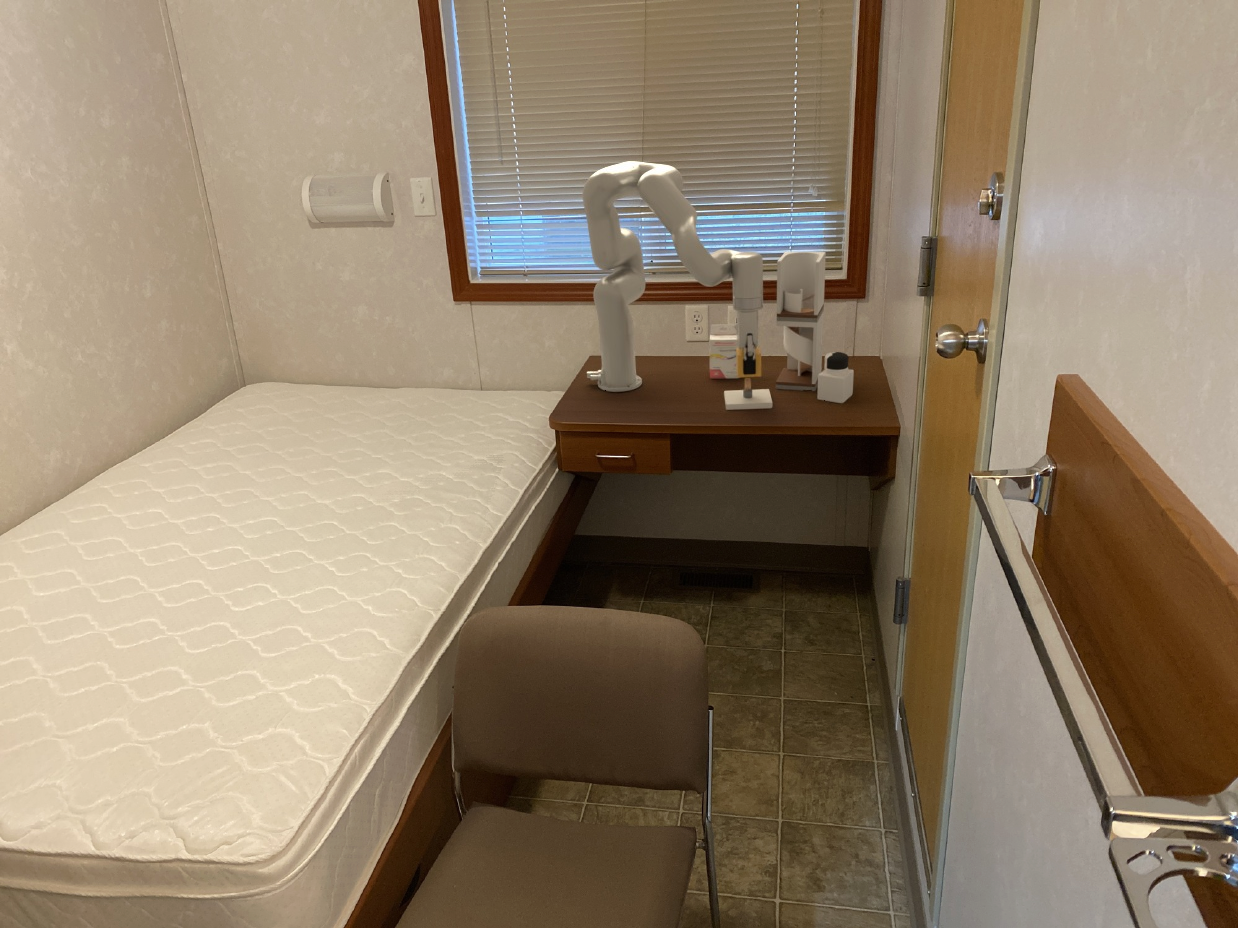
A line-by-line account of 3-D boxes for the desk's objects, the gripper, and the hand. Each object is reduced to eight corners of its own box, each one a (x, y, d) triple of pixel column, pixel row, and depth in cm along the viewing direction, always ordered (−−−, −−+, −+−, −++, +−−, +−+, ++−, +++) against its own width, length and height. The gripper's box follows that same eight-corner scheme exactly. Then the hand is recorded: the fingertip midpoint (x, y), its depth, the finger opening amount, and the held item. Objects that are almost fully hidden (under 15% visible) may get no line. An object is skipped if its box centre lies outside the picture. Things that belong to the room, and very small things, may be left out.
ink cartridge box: (709, 379, 260) (708, 329, 253) (709, 373, 264) (708, 324, 258) (740, 378, 259) (739, 328, 252) (739, 372, 263) (739, 323, 257)
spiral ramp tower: (783, 374, 259) (785, 251, 244) (821, 377, 256) (825, 252, 241) (775, 388, 249) (777, 261, 235) (814, 391, 246) (819, 262, 231)
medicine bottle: (852, 395, 242) (855, 351, 237) (842, 404, 237) (844, 360, 232) (827, 391, 246) (829, 348, 241) (816, 399, 240) (818, 356, 235)
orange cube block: (737, 377, 236) (737, 355, 233) (736, 369, 241) (736, 348, 239) (761, 376, 235) (761, 354, 233) (759, 368, 241) (759, 347, 238)
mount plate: (726, 409, 238) (725, 386, 235) (724, 396, 247) (723, 373, 244) (772, 408, 237) (772, 384, 234) (768, 394, 246) (769, 371, 243)
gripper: (731, 294, 239) (732, 360, 246) (735, 312, 223) (736, 381, 230) (759, 292, 238) (760, 358, 245) (765, 310, 222) (766, 380, 230)
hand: (748, 369), depth 238 cm, fingers closed on orange cube block, 5 cm apart
